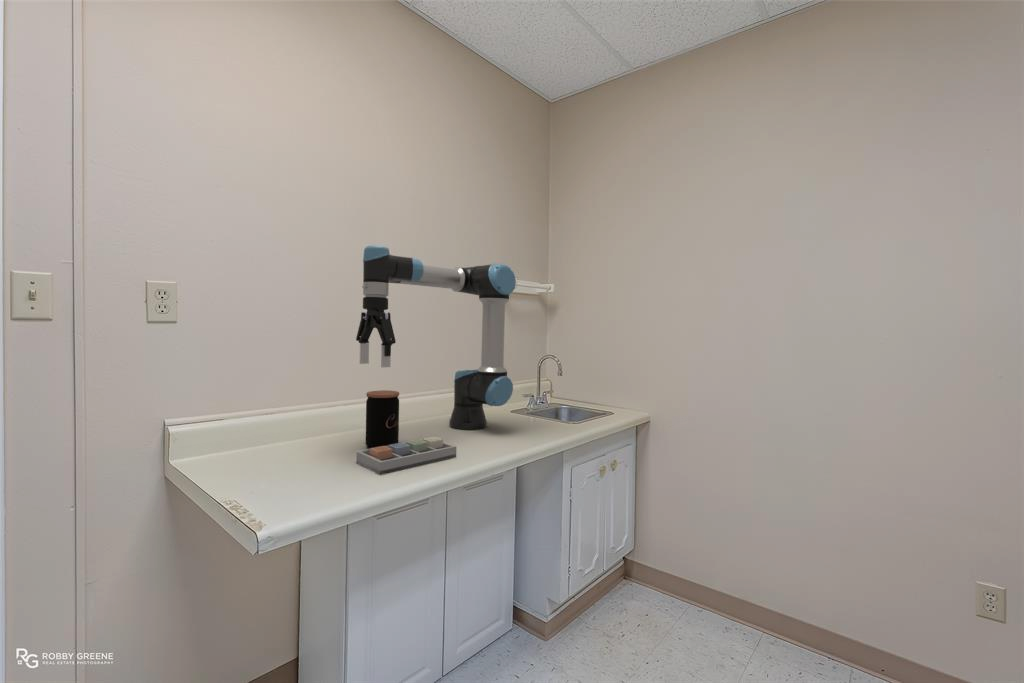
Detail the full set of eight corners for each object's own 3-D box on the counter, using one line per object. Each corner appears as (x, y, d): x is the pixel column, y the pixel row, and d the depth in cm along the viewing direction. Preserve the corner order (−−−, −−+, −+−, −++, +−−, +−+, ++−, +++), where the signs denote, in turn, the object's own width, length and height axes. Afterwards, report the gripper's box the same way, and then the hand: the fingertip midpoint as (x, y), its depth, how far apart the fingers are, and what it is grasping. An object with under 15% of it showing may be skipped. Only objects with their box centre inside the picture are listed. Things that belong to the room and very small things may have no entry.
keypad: (430, 447, 153) (430, 437, 153) (456, 457, 143) (456, 446, 143) (356, 462, 134) (356, 451, 134) (380, 474, 125) (380, 462, 124)
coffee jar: (389, 451, 147) (390, 395, 147) (359, 448, 149) (360, 394, 149) (403, 443, 158) (404, 391, 157) (375, 440, 160) (376, 389, 159)
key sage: (418, 446, 144) (418, 438, 144) (427, 450, 141) (427, 441, 141) (405, 449, 141) (405, 441, 141) (414, 452, 137) (414, 444, 137)
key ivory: (434, 443, 148) (434, 436, 148) (442, 446, 145) (443, 438, 145) (422, 446, 145) (422, 438, 145) (430, 449, 142) (430, 441, 142)
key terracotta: (384, 453, 136) (384, 445, 135) (392, 457, 132) (392, 448, 132) (369, 456, 132) (369, 447, 132) (377, 460, 129) (377, 451, 129)
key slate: (401, 450, 140) (401, 442, 140) (410, 453, 136) (410, 445, 136) (388, 452, 136) (388, 444, 136) (396, 456, 133) (396, 447, 133)
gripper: (345, 297, 148) (344, 362, 148) (385, 294, 130) (383, 369, 131) (367, 298, 153) (366, 361, 154) (408, 296, 135) (406, 368, 136)
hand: (374, 365), depth 142 cm, fingers open, 13 cm apart
